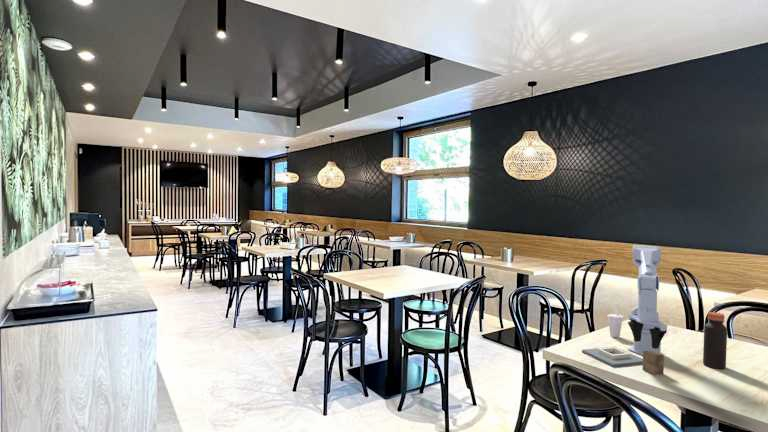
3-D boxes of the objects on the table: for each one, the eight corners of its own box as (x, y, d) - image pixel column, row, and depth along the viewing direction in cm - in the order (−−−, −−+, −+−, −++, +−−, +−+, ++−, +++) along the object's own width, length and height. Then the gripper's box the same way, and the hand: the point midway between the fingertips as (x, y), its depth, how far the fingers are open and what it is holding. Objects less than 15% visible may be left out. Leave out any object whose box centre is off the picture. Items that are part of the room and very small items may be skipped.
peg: (652, 368, 153) (652, 350, 153) (663, 373, 149) (664, 354, 149) (642, 370, 152) (643, 351, 152) (653, 374, 148) (654, 355, 147)
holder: (613, 349, 174) (614, 343, 174) (647, 363, 158) (647, 356, 158) (581, 352, 170) (582, 346, 170) (612, 367, 154) (613, 360, 154)
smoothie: (624, 339, 187) (625, 308, 187) (609, 338, 188) (610, 307, 188) (619, 334, 193) (620, 305, 193) (605, 333, 195) (605, 304, 194)
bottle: (720, 370, 152) (722, 316, 151) (699, 364, 158) (701, 312, 158) (729, 367, 155) (731, 314, 155) (708, 361, 161) (710, 310, 161)
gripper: (622, 303, 157) (621, 339, 157) (656, 313, 143) (654, 352, 143) (637, 302, 159) (636, 337, 159) (672, 312, 145) (671, 350, 145)
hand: (646, 344), depth 151 cm, fingers open, 7 cm apart
